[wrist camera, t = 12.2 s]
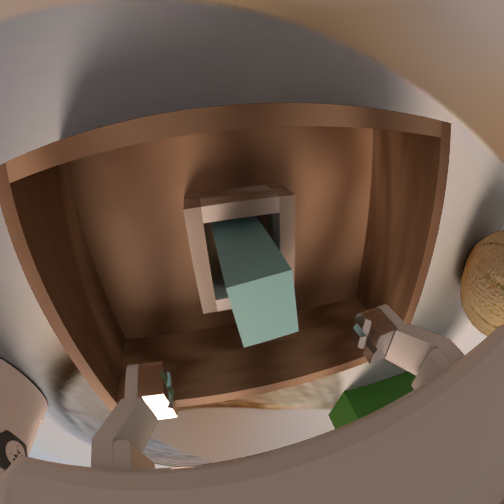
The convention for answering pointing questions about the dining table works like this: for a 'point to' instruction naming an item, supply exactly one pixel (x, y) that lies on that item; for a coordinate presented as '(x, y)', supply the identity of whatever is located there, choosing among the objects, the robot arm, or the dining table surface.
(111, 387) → the walled box
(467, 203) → the dining table surface
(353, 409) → the hardback book
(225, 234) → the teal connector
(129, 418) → the robot arm
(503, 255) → the cantaloupe
